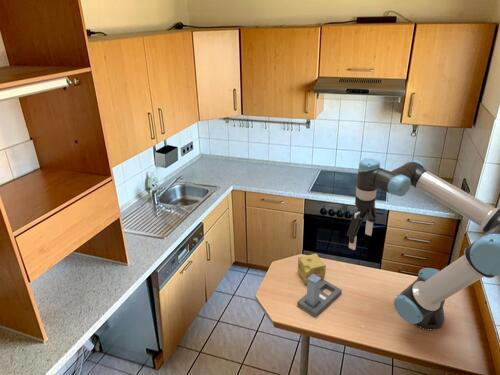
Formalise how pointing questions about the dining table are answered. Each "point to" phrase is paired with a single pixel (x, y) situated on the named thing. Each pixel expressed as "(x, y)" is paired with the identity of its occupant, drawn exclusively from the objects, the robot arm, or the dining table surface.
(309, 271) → the cheese
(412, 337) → the dining table surface
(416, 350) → the dining table surface
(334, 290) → the port panel
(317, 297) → the plug
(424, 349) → the dining table surface
